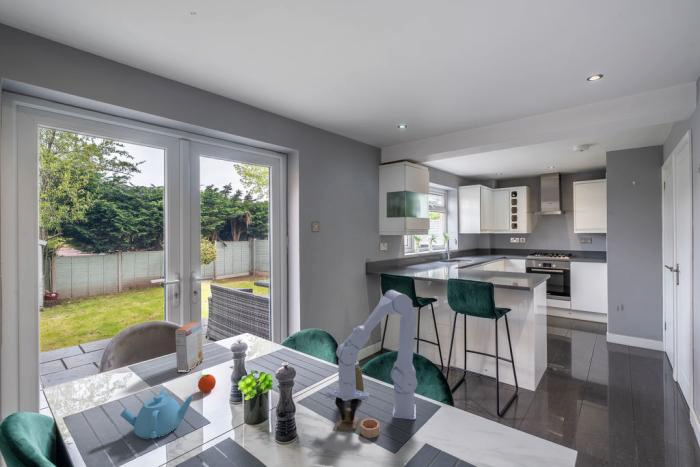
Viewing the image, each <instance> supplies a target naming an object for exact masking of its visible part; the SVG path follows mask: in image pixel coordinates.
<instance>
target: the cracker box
mask: <svg viewBox="0 0 700 467" xmlns="http://www.w3.org/2000/svg"><path fill="white" fill-rule="evenodd" d="M202 330H203V329H202V321H191V322H189V323H186V324H184V326H180V327H179V328H177V329H175V331H174V334H175V351H176V352H175V353H176V354H175V356H176V371H177V370H186V371H188V370H189V369H191V368H192V367H194V366H195V365H197V364H198V363H199V362H201V361H202V360H203V361H204V354H203V352H204V351H203V333H202ZM203 361H202V362H203ZM202 362H201V363H202ZM197 366H198V365H197Z"/></svg>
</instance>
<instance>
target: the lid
mask: <svg viewBox="0 0 700 467" xmlns="http://www.w3.org/2000/svg"><path fill="white" fill-rule="evenodd" d="M358 422H359V416H354V421H351V407H345V409H344V421H342V418H340V420H339V422H338V425H337V429H345V430H354V431H356V428H357V425H358Z"/></svg>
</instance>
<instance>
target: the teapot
mask: <svg viewBox="0 0 700 467" xmlns="http://www.w3.org/2000/svg"><path fill="white" fill-rule="evenodd" d="M193 397H194V396H193V395H192V396H187V398H186V400H184V402H183V404H182V405H180V404H179V402H178V401H177V400H176V399H175V398H174V397H173V396H171V395H167V391H166V390H161V391H160V393H159V394H157V395H155V396H153V397H152V398H150V399H148V400H146V402H145V403H144V404H142V407H141V408H140V410H139V412H138V414H136V415H137V416H136V415H134V414H133V413H132V412H131V411H130V410H129V409H127V408H124V410H123V411H122V412H121V413H120V414H119V416H120V417H121V418H123V419H124V420H125V421H126V422H127V423H129V424H130V425H131V426H132V427H133V432H134V434H135V435H136V436H137V437H139V438H141V437H142V438H141V439H143V438H152V439H151V440H154V438H155V439H157V438H156V437H159V436H162V435H165V434H167V433H169V434H171V433H172V432H173V430H174V429H175V428H176V429H177V428H178V427H179V425H180V424H181V422H182V421H183V419H184V418H185V416H186V413H187V412H188V409H189V407H190V405H191V403H192V400H193ZM176 429H175V430H176ZM175 430H174V431H175ZM171 431H172V432H171ZM170 432H171V433H170ZM167 435H168V434H167ZM165 436H166V435H165ZM162 437H163V436H162ZM159 438H160V437H159Z"/></svg>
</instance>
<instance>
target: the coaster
mask: <svg viewBox="0 0 700 467" xmlns="http://www.w3.org/2000/svg"><path fill="white" fill-rule="evenodd" d="M358 417H359V416H358ZM340 418H341V414H340V415H338V416H337V419H336V421H335V423H334V426H333V428H332V430H331V431H332V432H341V433H350V434H360V432H361V431H360V425H361V421H362V420H364V417H359V422H358V425H357V428H356V431H354V430H345V429H337V425H338V422H339V420H340Z"/></svg>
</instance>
